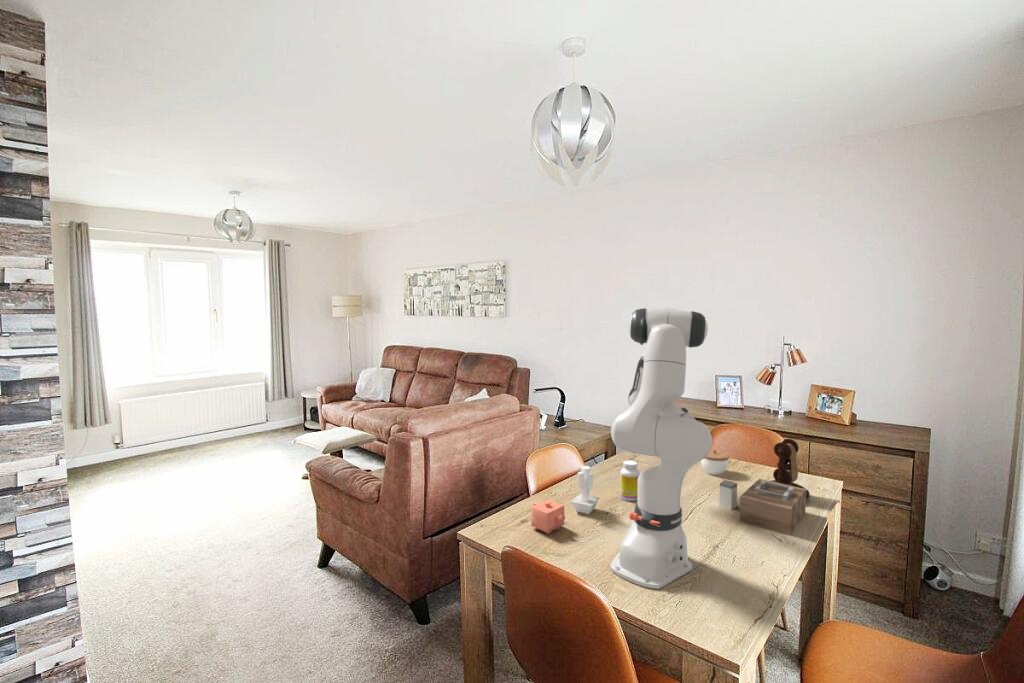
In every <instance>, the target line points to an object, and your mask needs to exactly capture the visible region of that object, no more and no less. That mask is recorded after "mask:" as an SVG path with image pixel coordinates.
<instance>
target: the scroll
mask: <svg viewBox="0 0 1024 683" xmlns="http://www.w3.org/2000/svg"><path fill="white" fill-rule="evenodd" d="M773 447H774V448H773V452H774V454H775V455H776V456H777V457H778V462H777V464H776V465H777V467H778V468H776V469H774V471H773V478H774V479H773V480H770V481H772V482H776V483H781V484H785V485H790V486H794V487H799V488H803V489H806V500H808V499H809V498H810V491H809V490H808V489H807V488H805V487H804V486H802V485H800V484H797V483H794V482H795V481H797V480H798V476H799V471H798V470H799V469H798V463H797V462H798V461H797V453H798V452H799V448H800V447H799V445H798V443H797V442H796V440H793V439H792V438H786V439H783V440H782V441H781V442H777V443H776V444H775V445H774V446H773Z"/></svg>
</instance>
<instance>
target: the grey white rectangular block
mask: <svg viewBox="0 0 1024 683" xmlns="http://www.w3.org/2000/svg"><path fill="white" fill-rule="evenodd" d="M737 498H738V483H737V482H734V481H730V480H726V479H724V480H723V481H721V482H719V501H718V502H719V503H718V504H719V505H718V506H719V507H721V508H725V509H729V510H734V508H736V507H737V506H738V505H737V504H738V503H737V502H738V499H737Z"/></svg>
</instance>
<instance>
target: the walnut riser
mask: <svg viewBox="0 0 1024 683" xmlns="http://www.w3.org/2000/svg"><path fill="white" fill-rule="evenodd" d="M806 489H807V488H805V489H803V488H799V487H794V486H790V485H785V484H781V483H776V482H772V481H771V480H768V479H767V480H766V479H764V478H763V479H762V478H758V479H757V480H756V481H754V483H753V484H752V485H751V486H750V487H748V488H747V489H746V491H744V492H743V493H742V494H741V495H740V496H739V521H740V522H742V523H746V524H748V525H753V526H755V527H759V528H763V529H766V530H769V531H773V532H777V533H780V534H783V535H787V536H791V535H792V533H793V532H794V530H795V528H797V526H798V524H799V523H800V522H801V520H802V519H803V517H805V516H804V515H805V514H806V508H807V506H806V505H807V504H806V503H807V502H806V501H807V499H806Z"/></svg>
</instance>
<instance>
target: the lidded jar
mask: <svg viewBox="0 0 1024 683" xmlns="http://www.w3.org/2000/svg"><path fill="white" fill-rule="evenodd" d="M729 459H730V454H729V453H726V452H724V451H722V450H717V449H711V450H710V452H709V453H708V455H707V456H706V457H705V458H704V459H702V460H701V461H700V465H701V467H702V469H703V470H704V471H705V473H706V474H709V475H713V476H721V475H723V473H725V472H726V471H727V469H728V467H729Z"/></svg>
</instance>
